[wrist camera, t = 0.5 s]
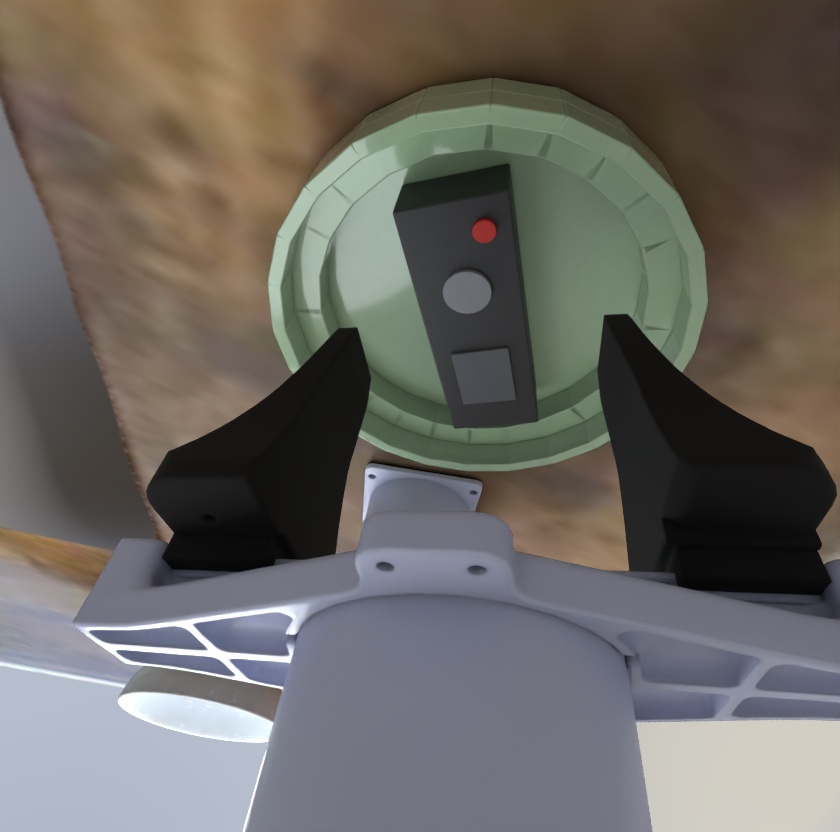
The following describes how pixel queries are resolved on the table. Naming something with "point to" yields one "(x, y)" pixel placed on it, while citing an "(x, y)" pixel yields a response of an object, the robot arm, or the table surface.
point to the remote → (471, 293)
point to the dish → (540, 256)
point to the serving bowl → (202, 704)
